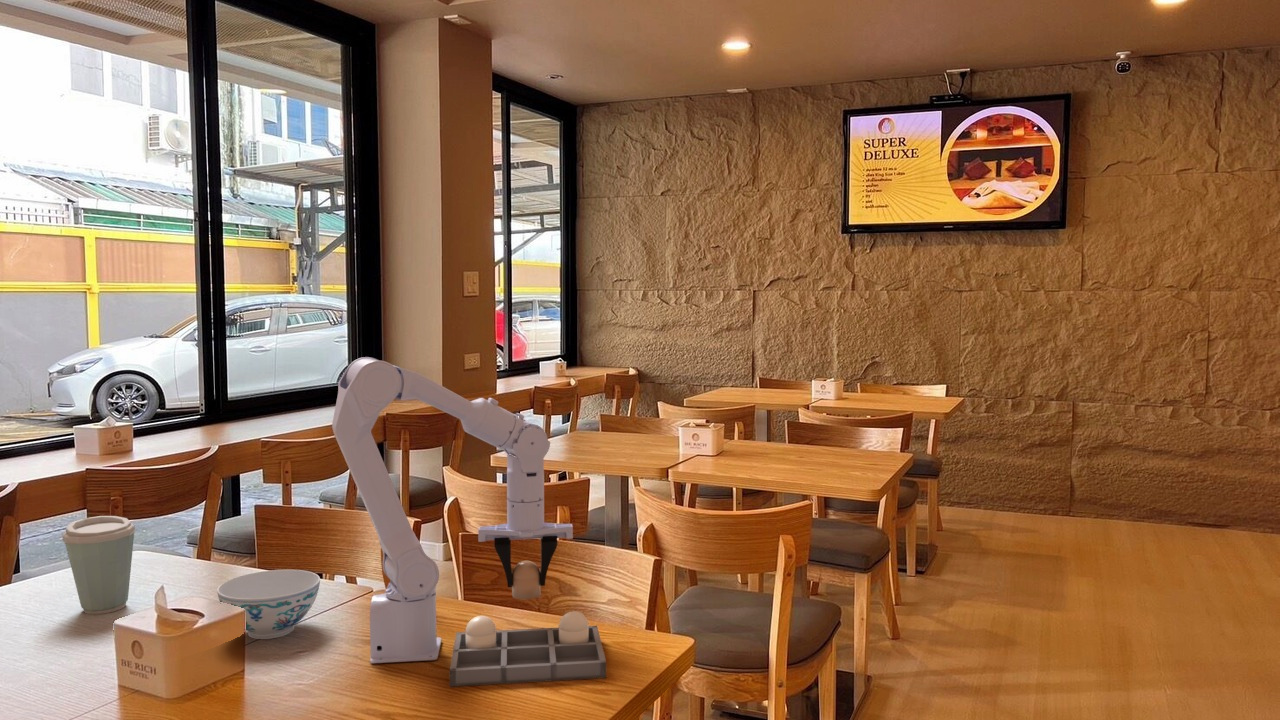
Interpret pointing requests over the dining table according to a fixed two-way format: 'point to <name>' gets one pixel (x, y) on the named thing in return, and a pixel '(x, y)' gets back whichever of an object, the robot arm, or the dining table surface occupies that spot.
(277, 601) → the chinaware
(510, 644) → the egg carton
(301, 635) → the dining table surface
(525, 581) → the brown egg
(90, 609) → the disposable coffee cup
